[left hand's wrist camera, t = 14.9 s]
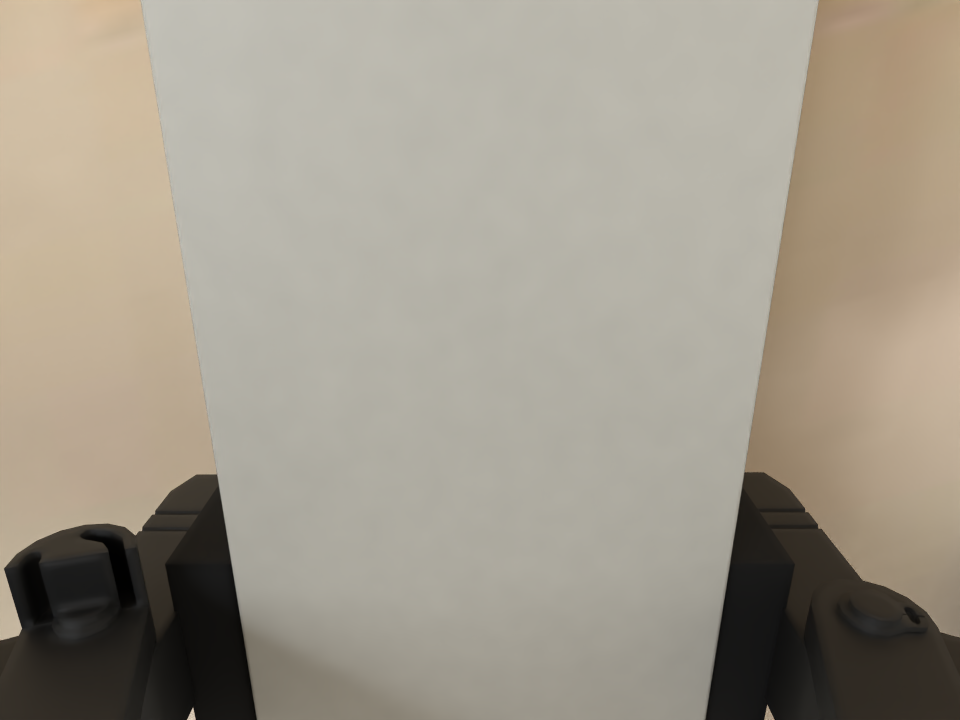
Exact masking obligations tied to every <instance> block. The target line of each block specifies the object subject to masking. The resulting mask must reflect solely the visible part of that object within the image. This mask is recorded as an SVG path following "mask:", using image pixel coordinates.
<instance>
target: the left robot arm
mask: <svg viewBox="0 0 960 720" xmlns="http://www.w3.org/2000/svg"><path fill="white" fill-rule="evenodd" d="M142 528H143V529H142V531H139V532H138V533H137V535H136V536H135V535H134V534H133V533H131V532H130V531H129V530H128V529H127V528H125V527H121V526H116V525H112V524H92V525H83V526H79V527H74V528H70V529H66V530H62V531H59V532H57V533H54V534H52V535H50V536H47V537H45V538H42V539H40V540H38V541H36V542H34V543H33V544H31V545H30V546H28V547H27V548H25V549H24V550H22V551H21V552H19V553H18V554H16V556H15V557H14V558H13V559H12V560H11V561H10V562H9V564H8V565H7V566H6V567H5V568H4V570H5V573H6V577H7V580H8V583H9V587H10V590H11V593H12V597H13V600H14V603H15V607H16V610H17V613H18V617H19V620H20V623H21V626H22V630H21V632H20V635H19V636H16V637H13V638H9V639H5V640H1V641H0V720H187V719H188V716H189V714H190V712H191V710H192V708H194V713H195V718H196V720H257V717H256V711H255V705H254V699H253V692H252V686H251V680H250V674H249V668H248V661H247V655H246V649H245V643H244V637H243V630H242V624H241V618H240V612H239V606H238V600H237V593H236V587H235V581H234V575H233V569H232V562H231V556H230V550H229V544H228V538H227V531H226V525H225V519H224V513H223V507H222V501H221V494H220V488H219V482H218V476H217V475H195V476H194V477H192V478H191V479H189V480H188V481H186V482H184V483H183V484H181V485H180V486H178V487H177V488H175V489H174V490H172V491H171V492H170V493H169V494H168V496H167V497H166V498H165V499H164V501H163V502H162V503H161V504H160V506H159V507H158V508H157V509H156V511H155V515H152V516H151V517H150V518H149V520H148V521H147V522H146V523H145V525H144V526H143V527H142ZM767 705H768V707H769V709H770V711H771V713H772V715H773V717H774V719H775V720H960V638H959V637H955V636H951V635H948V634H944V633H940V631H939V629H938V627H937V626H936V624H935V623H934V622H933V620H932V619H931V618H930V616H929V615H928V614H927V612H926V611H924V610H923V609H922V608H920V607H919V606H918V605H916V604H915V603H914V602H913V601H911V600H910V599H909V598H907V597H905V596H903V595H901V594H899V593H897V592H895V591H893V590H891V589H888V588H886V587H884V586H880V585H877V584H873V583H869V582H866V581H862V579H861V578H860V577H859V576H858V574H857V573H856V572H855V570H854V569H853V568H852V567H851V565H850V564H849V563H848V562H847V560H846V559H845V558H844V557H843V555H842V554H841V553H840V552H839V550H838V549H837V548H836V547H835V545H834V544H833V543H832V542H831V540H830V539H829V538H828V537H827V535H826V534H825V533H824V532H823V530H822V529H818V524H817V523H816V522H815V520H814V519H813V518H812V517H811V515H810V514H809V513H808V512H805V508H804V507H803V505H802V504H801V503H800V502H799V500H798V499H797V498H796V497H795V495H794V494H793V493H792V492H791V490H790V489H789V488H787V487H785V486H784V485H782V484H781V483H779V482H778V481H776V480H775V479H773V478H772V477H770V476H768V475H767V474H765V473H764V472H744V478H743V484H742V490H741V497H740V503H739V509H738V516H737V522H736V528H735V535H734V541H733V547H732V554H731V560H730V566H729V573H728V579H727V585H726V592H725V598H724V604H723V611H722V617H721V623H720V630H719V636H718V642H717V649H716V655H715V661H714V668H713V674H712V681H711V687H710V693H709V700H708V706H707V712H706V719H705V720H764V718H765V713H766V707H767Z"/></svg>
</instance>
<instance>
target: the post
mask: <svg viewBox="0 0 960 720" xmlns="http://www.w3.org/2000/svg"><path fill="white" fill-rule="evenodd" d="M818 2H819V0H141V5H142V12H143V18H144V24H145V30H146V36H147V43H148V49H149V55H150V61H151V67H152V74H153V80H154V86H155V92H156V98H157V104H158V111H159V117H160V123H161V129H162V135H163V142H164V148H165V154H166V160H167V166H168V173H169V179H170V185H171V191H172V197H173V203H174V210H175V216H176V222H177V228H178V234H179V241H180V247H181V253H182V259H183V265H184V272H185V278H186V284H187V290H188V296H189V303H190V309H191V315H192V321H193V327H194V333H195V340H196V346H197V352H198V358H199V364H200V371H201V377H202V383H203V389H204V395H205V402H206V408H207V414H208V420H209V426H210V432H211V439H212V445H213V451H214V457H215V463H216V470H217V476H218V482H219V488H220V494H221V501H222V507H223V513H224V519H225V525H226V531H227V538H228V544H229V550H230V556H231V562H232V569H233V575H234V581H235V587H236V593H237V600H238V606H239V612H240V618H241V624H242V630H243V637H244V643H245V649H246V655H247V661H248V668H249V674H250V680H251V686H252V692H253V699H254V705H255V711H256V717H257V720H705V719H706V712H707V706H708V700H709V693H710V687H711V681H712V674H713V668H714V661H715V655H716V649H717V642H718V636H719V630H720V623H721V617H722V611H723V604H724V598H725V592H726V585H727V579H728V573H729V566H730V560H731V554H732V547H733V541H734V535H735V528H736V522H737V516H738V509H739V503H740V497H741V490H742V484H743V478H744V471H745V465H746V459H747V452H748V446H749V440H750V433H751V427H752V421H753V414H754V408H755V401H756V395H757V389H758V382H759V376H760V370H761V363H762V357H763V351H764V344H765V338H766V332H767V325H768V319H769V313H770V306H771V300H772V294H773V287H774V281H775V275H776V268H777V262H778V256H779V249H780V243H781V237H782V230H783V224H784V218H785V211H786V205H787V199H788V192H789V186H790V180H791V173H792V167H793V161H794V154H795V148H796V141H797V135H798V129H799V122H800V116H801V110H802V103H803V97H804V91H805V84H806V78H807V72H808V65H809V59H810V53H811V46H812V40H813V34H814V27H815V21H816V15H817V8H818Z"/></svg>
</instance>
